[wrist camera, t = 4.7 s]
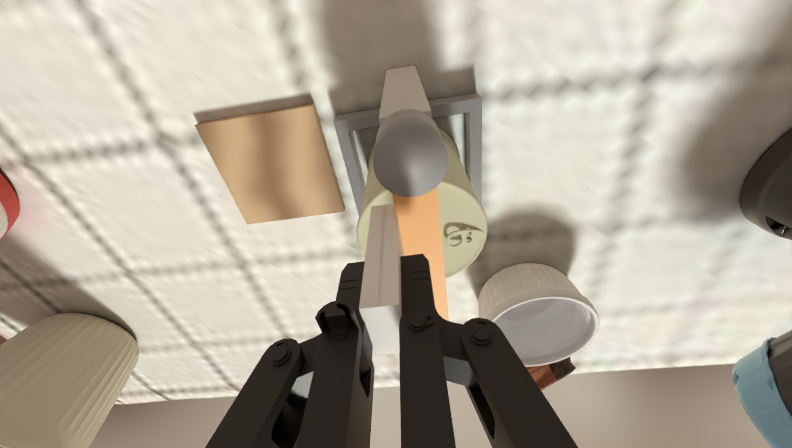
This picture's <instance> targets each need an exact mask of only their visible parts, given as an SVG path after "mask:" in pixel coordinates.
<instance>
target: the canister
mask: <svg viewBox="0 0 792 448" xmlns="http://www.w3.org/2000/svg"><path fill="white" fill-rule="evenodd" d="M138 355H139V349H138V345H137V343H136V341H135V340H134V338H133V337H132V336H131V335H130V333H128V332H126V331H125V330H124V329H122V328H121V327H120V326H118V325H116V324H114V323H112V322H109V321H108V320H105V319H102V318H100V317H95V316H93V315H88V314H81V313H61V314H56V315H52V316H49V317H46V318H44V319H41V320H39V321H37V322H35V323H33V324H32V325H30V326H29V327H27V328H26V329H24V330H23V331H21V332H20V333H18V334H17V335H15V336H14V337H12V338H11V339H9V340H8V341H6V342H5V343H3V344H2V345H1V346H0V448H88V447H89V446H90V444H91V442H92V441H93V439H94V437H95V435H96V434H97V432H98V430H99V429H100V427H101V425H102V424H103V422H104V420H105V418H106V417H107V415H108V413H109V412H110V410H111V408H112V407H113V405H114V403H115V402H116V400H117V398H118V396H119V395H120V393H121V391H122V389H123V387H124V386H125V384H126V382H127V380H128V379H129V377H130V375H131V373H132V371H133V369H134V367H135V365H136V363H137V360H138Z"/></svg>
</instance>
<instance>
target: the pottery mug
mask: <svg viewBox="0 0 792 448" xmlns="http://www.w3.org/2000/svg"><path fill="white" fill-rule="evenodd" d="M570 361H571V360H570V357H568V358H566V359H563V360H561V361H558V362H554V363H551V364H546V365H541V366H530V367H526V369H527V370H528V372H529V373H530V375H531V376H532V378H533V379H534V381H535V382H536V384H537V385H538V387H539V388H540V390H543V389H545V388H546V387H548V386H550V385H551V384H553V383H555V382H556V381H558V380H560V379H562V378H563V377H565V376H567V375H568V374H570V373H571V372H573V371H574V369H575V368H576V367H575V366H573V364H572V363H571V362H570Z"/></svg>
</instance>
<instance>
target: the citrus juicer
mask: <svg viewBox="0 0 792 448" xmlns="http://www.w3.org/2000/svg"><path fill="white" fill-rule="evenodd" d="M19 211H20V206H19V201H18V198H17V196H16V193H15V192H14V190H13V189H12V187H11V185H10V184H9V183H8V181H7V180H6V179H5V178H4V177H3V176H2V175H1V173H0V239H1V238H3V237H4V236H5V235H6V233H7V232H8V231H9V229H10V228H11V227H12V225H13V224H14V222H15V221H16V219H17V217H18V216H19Z"/></svg>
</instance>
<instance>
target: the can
mask: <svg viewBox="0 0 792 448" xmlns="http://www.w3.org/2000/svg"><path fill="white" fill-rule="evenodd" d="M439 131H440V134H441V137H442V139H443V142H444V145H445V147H446V150H447V154H448V168H447V172H446V174H445V176H444V178H443V180H442V181H441V182H440V184H439V185H438V186H437V193H438V204H439V216H440V227H441V239H442V250H443V261H444V273H445V279H446V278H448V277H451V276H453V275H455V274H457V273H459V272H460V271H462V270H463V269H465V268H466V267H467V266H469V265H470V264H471V263H472V262H473V261H474V260H475V259H476V257H477V256H478V255H479V253H480V252H481V250H482V248H483V246H484V244H485V241H486V237H487V229H488V227H487V218H486V214H485V212H484V209H483V207H482V205H481V204H480V202H479V201H478V199H477V197H476V195H475V193H474V191H473V188H472V186H471V184H470V182H469V180H468V177H467V175H466V173H465V170H464V168H463V166H462V163H461V161H460V156H459V152H458V149H457V147H456V145H455V143H454V142H453V140H452V139H451V138H450V136H449V135H448V134H446V133H445V132H444V131H443V130H441V129H440V128H439ZM375 144H376V143H375ZM375 144H374V146H373V148H372V150H371V152H370V155H369V160H368V177H367V183H366V188H365V194H364V199H363V205H362V210H361V214H360V216H359V220H358V224H357V241H358V245H359V248H360V250H361V252H362V254H363V256H364V257H365V255H366V246H367V238H368V230H369V222H370V214H371V206H379V205H386V204H393V197H392V193H391V192H389V191H388V190H386V189H385V188H384V187H383V186H382V185H381V184H380V183H379V181H378V180H377V178H376V176H375V173H374V169H373V157H374V150H375Z"/></svg>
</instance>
